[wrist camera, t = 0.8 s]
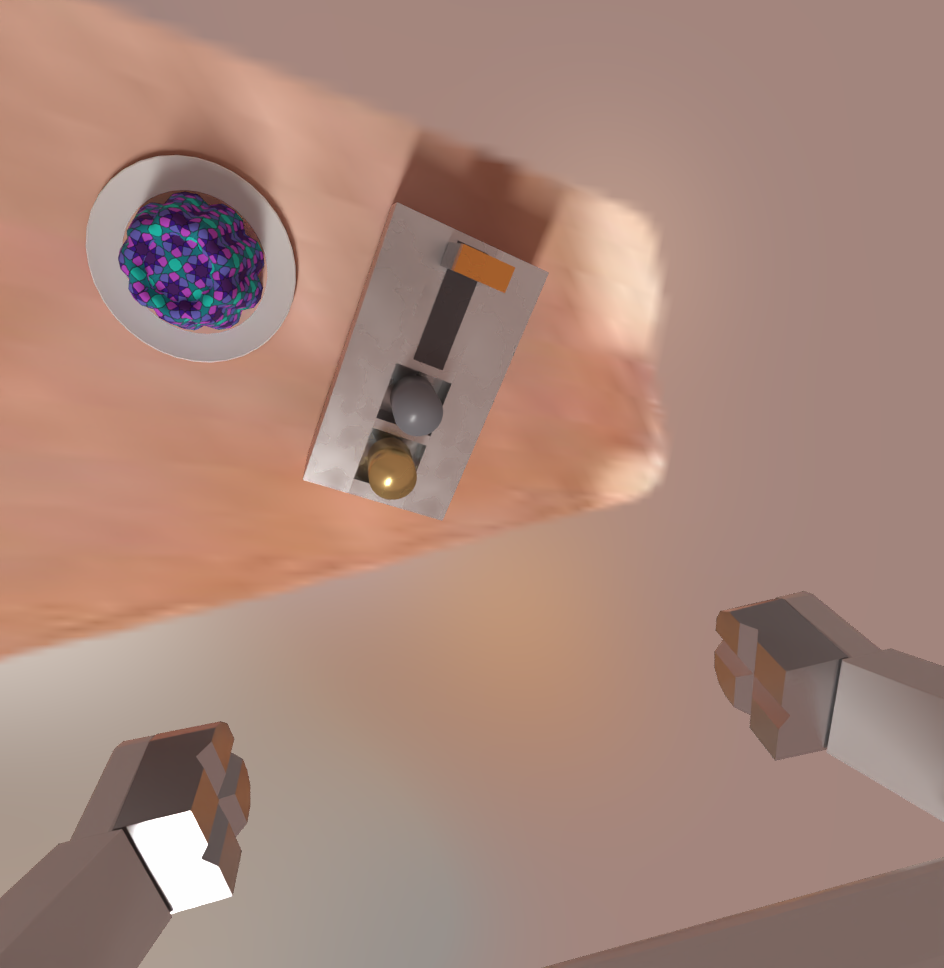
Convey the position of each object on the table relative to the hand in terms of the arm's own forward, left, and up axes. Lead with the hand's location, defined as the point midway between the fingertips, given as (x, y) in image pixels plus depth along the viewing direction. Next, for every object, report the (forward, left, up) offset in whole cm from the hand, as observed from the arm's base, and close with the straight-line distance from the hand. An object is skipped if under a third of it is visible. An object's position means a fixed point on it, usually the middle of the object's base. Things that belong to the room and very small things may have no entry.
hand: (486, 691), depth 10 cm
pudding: (-12, 0, -35) cm, 37 cm away
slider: (+3, +7, -30) cm, 31 cm away
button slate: (+3, -2, -31) cm, 31 cm away
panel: (+3, -1, -34) cm, 34 cm away
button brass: (+3, -7, -31) cm, 32 cm away
